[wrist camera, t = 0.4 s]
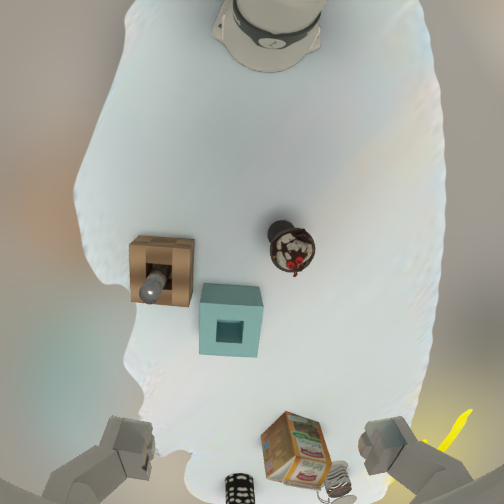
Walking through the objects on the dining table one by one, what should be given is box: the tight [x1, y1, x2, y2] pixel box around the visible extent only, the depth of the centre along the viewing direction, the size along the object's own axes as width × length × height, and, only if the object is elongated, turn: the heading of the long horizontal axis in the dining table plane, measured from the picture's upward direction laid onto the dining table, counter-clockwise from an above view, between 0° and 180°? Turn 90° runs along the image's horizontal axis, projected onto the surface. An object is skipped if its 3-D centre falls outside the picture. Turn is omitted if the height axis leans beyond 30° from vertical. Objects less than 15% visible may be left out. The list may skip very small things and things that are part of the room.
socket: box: [129, 236, 195, 307], centre depth 52 cm, size 10×10×6 cm
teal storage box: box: [199, 283, 263, 357], centre depth 54 cm, size 10×10×8 cm
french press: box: [317, 461, 357, 504], centre depth 65 cm, size 10×12×25 cm
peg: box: [139, 264, 172, 304], centre depth 48 cm, size 3×3×12 cm
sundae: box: [268, 221, 315, 277], centre depth 47 cm, size 7×7×15 cm
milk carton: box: [261, 411, 332, 491], centre depth 60 cm, size 11×11×19 cm
